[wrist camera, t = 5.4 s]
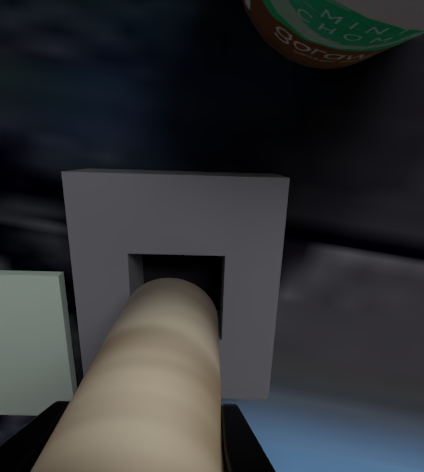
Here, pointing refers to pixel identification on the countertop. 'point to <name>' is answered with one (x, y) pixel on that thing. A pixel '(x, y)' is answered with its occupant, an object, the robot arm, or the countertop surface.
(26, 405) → the mat
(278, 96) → the countertop surface
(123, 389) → the plug
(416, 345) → the countertop surface
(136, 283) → the grey square frame
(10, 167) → the countertop surface
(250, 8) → the food container
